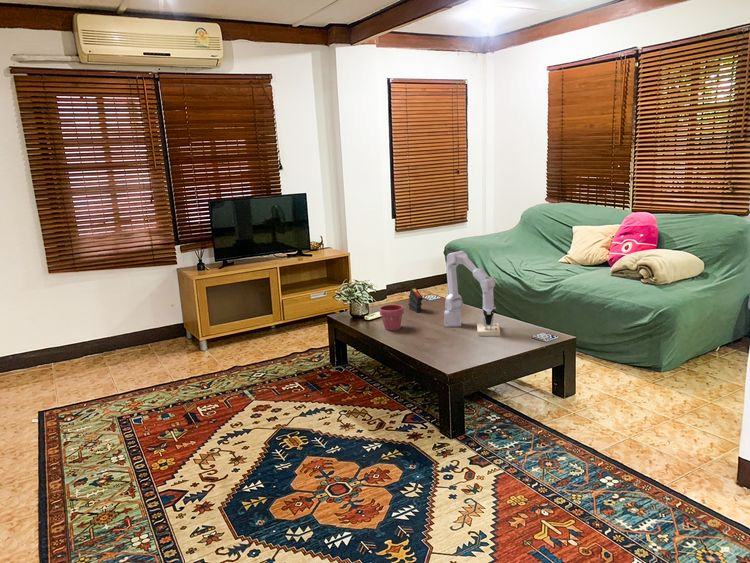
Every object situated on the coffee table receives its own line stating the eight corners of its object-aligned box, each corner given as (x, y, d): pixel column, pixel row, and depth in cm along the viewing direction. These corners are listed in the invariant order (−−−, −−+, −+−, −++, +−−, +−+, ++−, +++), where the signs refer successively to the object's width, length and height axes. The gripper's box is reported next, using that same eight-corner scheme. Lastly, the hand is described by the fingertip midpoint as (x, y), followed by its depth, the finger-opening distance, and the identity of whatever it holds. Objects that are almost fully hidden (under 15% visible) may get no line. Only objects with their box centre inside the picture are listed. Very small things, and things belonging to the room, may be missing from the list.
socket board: (477, 335, 312) (477, 330, 311) (477, 327, 326) (476, 322, 326) (499, 335, 310) (499, 330, 309) (498, 327, 324) (498, 322, 324)
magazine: (411, 304, 375) (415, 286, 367) (420, 317, 366) (424, 299, 357) (406, 305, 374) (410, 287, 365) (415, 318, 365) (419, 299, 356)
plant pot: (384, 324, 342) (382, 303, 339) (406, 324, 338) (405, 304, 335) (377, 331, 329) (376, 310, 326) (401, 332, 325) (400, 311, 322)
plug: (483, 329, 312) (483, 317, 311) (483, 327, 317) (482, 315, 315) (493, 329, 311) (493, 317, 310) (493, 327, 316) (493, 315, 314)
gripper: (496, 303, 303) (496, 327, 306) (494, 296, 317) (495, 319, 320) (482, 303, 304) (483, 327, 307) (482, 296, 318) (482, 319, 321)
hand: (488, 323), depth 313 cm, fingers closed on plug, 4 cm apart
